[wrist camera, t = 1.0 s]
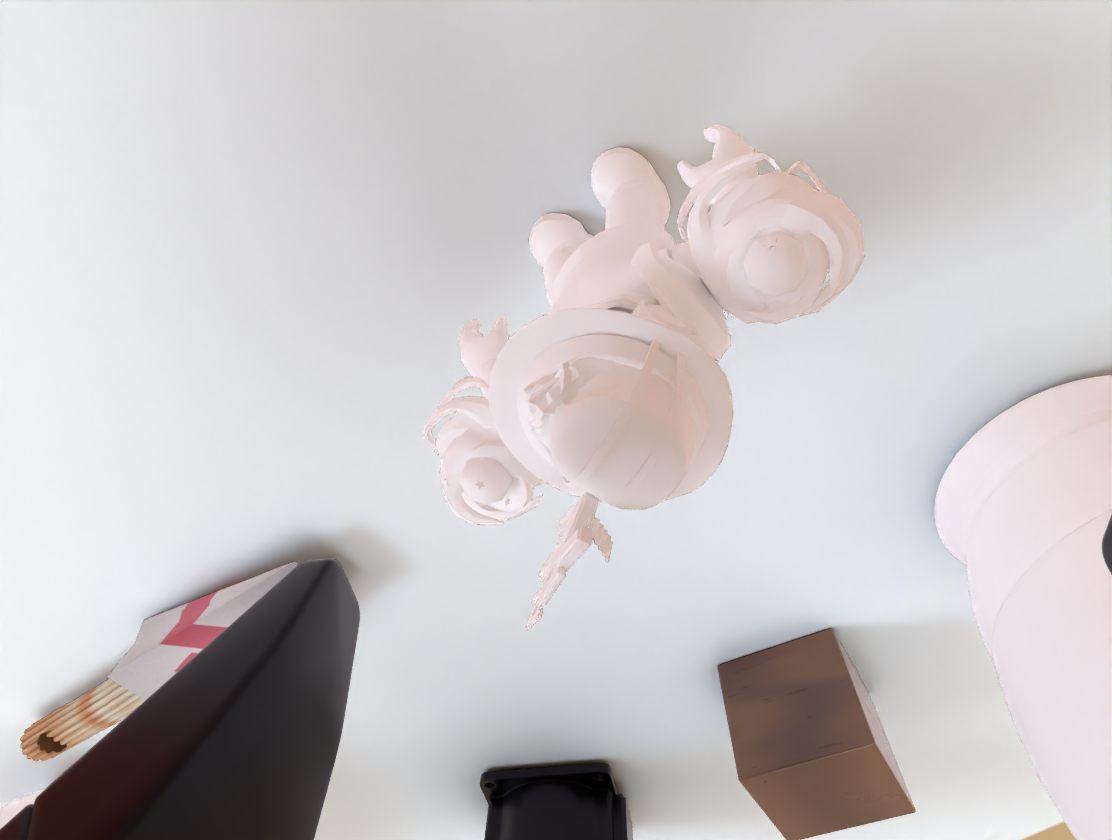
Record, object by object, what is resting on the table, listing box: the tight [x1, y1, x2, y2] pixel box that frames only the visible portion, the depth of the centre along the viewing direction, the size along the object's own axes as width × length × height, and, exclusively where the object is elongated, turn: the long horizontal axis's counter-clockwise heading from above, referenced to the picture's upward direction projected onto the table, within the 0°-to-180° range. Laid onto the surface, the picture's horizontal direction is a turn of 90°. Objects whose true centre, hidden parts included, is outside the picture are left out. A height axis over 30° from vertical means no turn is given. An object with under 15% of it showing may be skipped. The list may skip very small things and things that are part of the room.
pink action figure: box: [422, 124, 865, 630], centre depth 14 cm, size 9×4×12 cm, turn 133°
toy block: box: [718, 628, 915, 840], centre depth 28 cm, size 5×5×5 cm
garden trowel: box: [20, 562, 298, 761], centre depth 29 cm, size 4×3×20 cm
